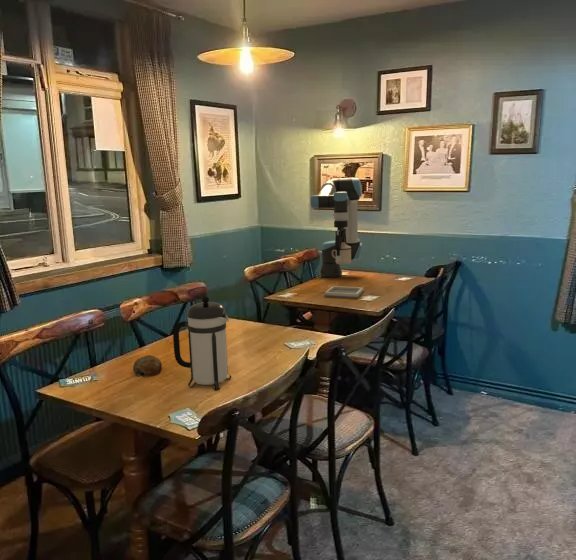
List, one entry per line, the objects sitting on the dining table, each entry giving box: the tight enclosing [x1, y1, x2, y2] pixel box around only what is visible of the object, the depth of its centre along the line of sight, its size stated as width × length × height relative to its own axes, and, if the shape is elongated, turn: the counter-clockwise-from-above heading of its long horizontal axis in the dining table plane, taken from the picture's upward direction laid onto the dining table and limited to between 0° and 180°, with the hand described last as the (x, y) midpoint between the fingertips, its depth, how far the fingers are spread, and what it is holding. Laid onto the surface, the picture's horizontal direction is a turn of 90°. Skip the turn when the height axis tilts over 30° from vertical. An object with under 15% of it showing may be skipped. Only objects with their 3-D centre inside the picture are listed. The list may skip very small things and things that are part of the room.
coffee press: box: [172, 296, 232, 391], centre depth 175 cm, size 17×16×30 cm
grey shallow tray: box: [323, 285, 365, 299], centre depth 301 cm, size 17×19×2 cm
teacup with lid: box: [332, 242, 352, 265], centre depth 298 cm, size 12×9×12 cm
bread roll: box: [132, 354, 163, 378], centre depth 189 cm, size 10×10×8 cm
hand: (340, 260), depth 298 cm, fingers closed on teacup with lid, 9 cm apart
